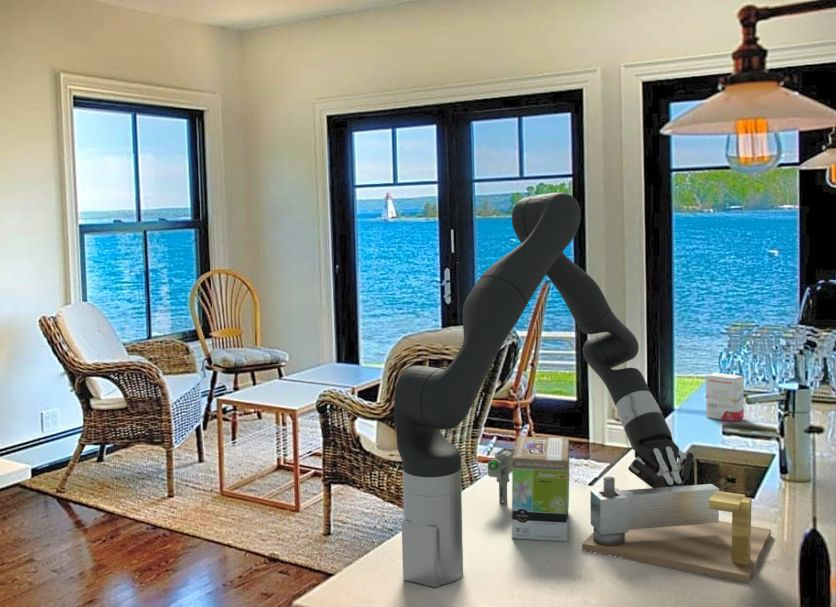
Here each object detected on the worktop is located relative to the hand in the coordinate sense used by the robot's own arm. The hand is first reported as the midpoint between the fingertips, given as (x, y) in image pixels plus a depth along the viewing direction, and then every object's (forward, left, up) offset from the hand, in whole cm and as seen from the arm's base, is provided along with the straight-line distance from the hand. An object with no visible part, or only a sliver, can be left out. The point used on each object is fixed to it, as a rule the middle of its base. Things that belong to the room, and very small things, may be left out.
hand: (681, 506), depth 146 cm
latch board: (-3, 0, -5) cm, 6 cm away
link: (-5, +3, -2) cm, 6 cm away
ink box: (+87, +10, -6) cm, 88 cm away
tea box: (-6, +23, -6) cm, 25 cm away
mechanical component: (+1, +34, -6) cm, 35 cm away
